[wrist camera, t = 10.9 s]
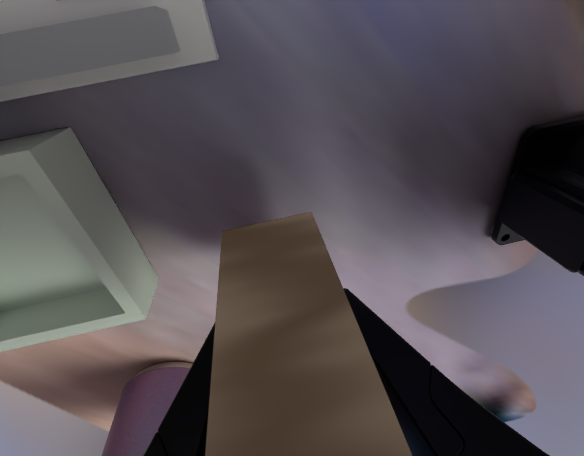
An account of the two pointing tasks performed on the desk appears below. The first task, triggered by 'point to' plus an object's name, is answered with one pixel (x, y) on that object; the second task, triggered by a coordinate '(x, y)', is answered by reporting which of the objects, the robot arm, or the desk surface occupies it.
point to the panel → (97, 41)
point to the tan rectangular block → (291, 353)
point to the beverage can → (144, 408)
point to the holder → (63, 246)
